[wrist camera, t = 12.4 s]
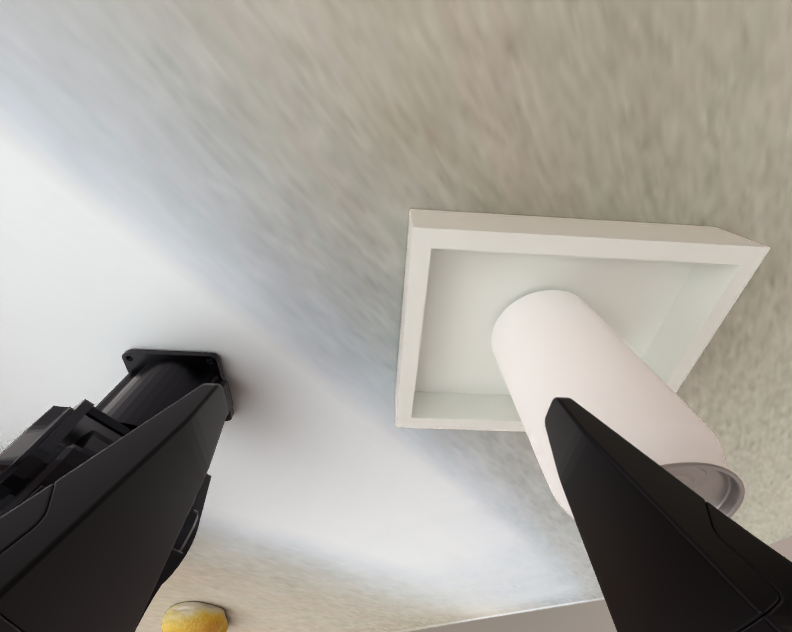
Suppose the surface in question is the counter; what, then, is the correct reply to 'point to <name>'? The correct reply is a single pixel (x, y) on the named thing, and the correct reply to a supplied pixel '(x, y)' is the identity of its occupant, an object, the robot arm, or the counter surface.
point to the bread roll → (194, 618)
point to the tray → (551, 270)
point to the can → (603, 393)
